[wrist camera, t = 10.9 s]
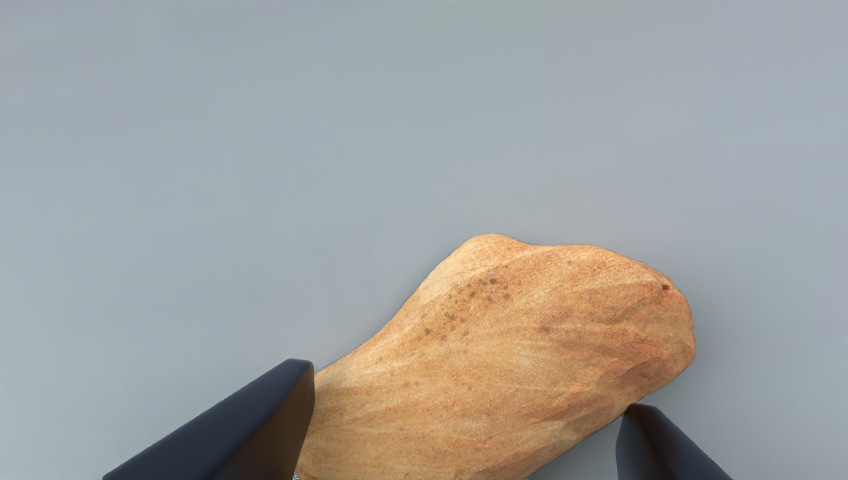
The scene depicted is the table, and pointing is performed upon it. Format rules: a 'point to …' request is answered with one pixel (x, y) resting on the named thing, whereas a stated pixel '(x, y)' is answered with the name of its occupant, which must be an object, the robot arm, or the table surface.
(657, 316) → the tan elongated piece
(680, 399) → the table surface
